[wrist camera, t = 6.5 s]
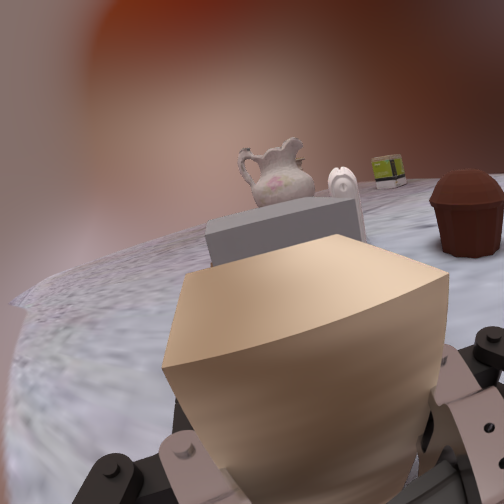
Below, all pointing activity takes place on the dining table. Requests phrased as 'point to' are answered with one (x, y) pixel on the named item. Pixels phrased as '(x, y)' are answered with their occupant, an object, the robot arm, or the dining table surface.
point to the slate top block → (280, 227)
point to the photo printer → (347, 192)
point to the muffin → (468, 213)
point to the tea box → (388, 171)
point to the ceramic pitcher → (277, 175)
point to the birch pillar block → (310, 368)
